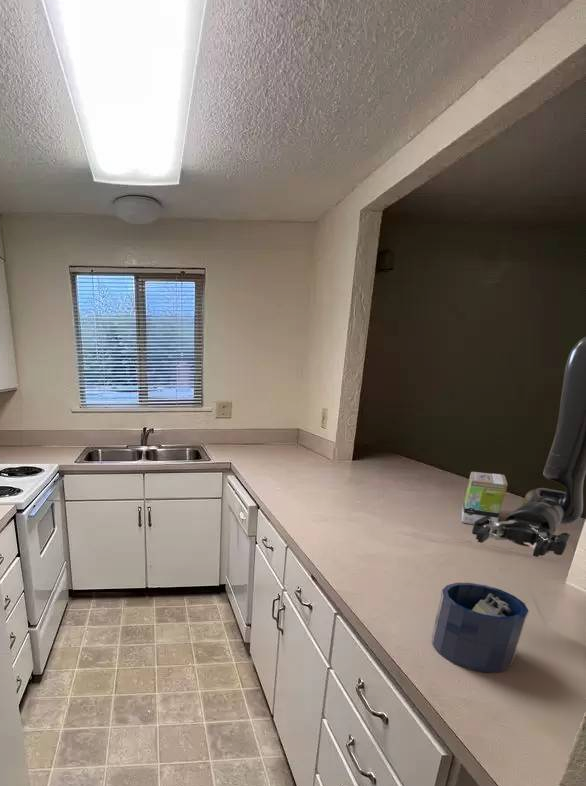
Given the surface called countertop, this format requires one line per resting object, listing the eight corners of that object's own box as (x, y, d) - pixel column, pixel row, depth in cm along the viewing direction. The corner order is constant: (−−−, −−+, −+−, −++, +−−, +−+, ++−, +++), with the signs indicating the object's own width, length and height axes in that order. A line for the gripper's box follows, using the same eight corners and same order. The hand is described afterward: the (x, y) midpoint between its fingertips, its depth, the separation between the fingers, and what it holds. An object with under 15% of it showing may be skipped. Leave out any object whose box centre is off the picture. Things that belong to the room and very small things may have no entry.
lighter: (486, 658, 79) (522, 615, 75) (467, 650, 79) (502, 607, 75) (466, 635, 86) (498, 594, 82) (449, 628, 85) (480, 587, 82)
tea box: (497, 528, 139) (508, 484, 134) (460, 523, 144) (470, 480, 139) (495, 514, 151) (505, 473, 146) (461, 510, 156) (470, 470, 151)
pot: (463, 625, 90) (474, 577, 86) (528, 662, 78) (545, 609, 75) (416, 639, 85) (426, 590, 82) (478, 680, 74) (494, 626, 70)
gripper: (495, 498, 92) (468, 515, 83) (583, 514, 82) (563, 536, 72) (487, 530, 95) (459, 551, 85) (571, 550, 85) (551, 576, 75)
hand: (507, 544), depth 79 cm, fingers open, 8 cm apart
